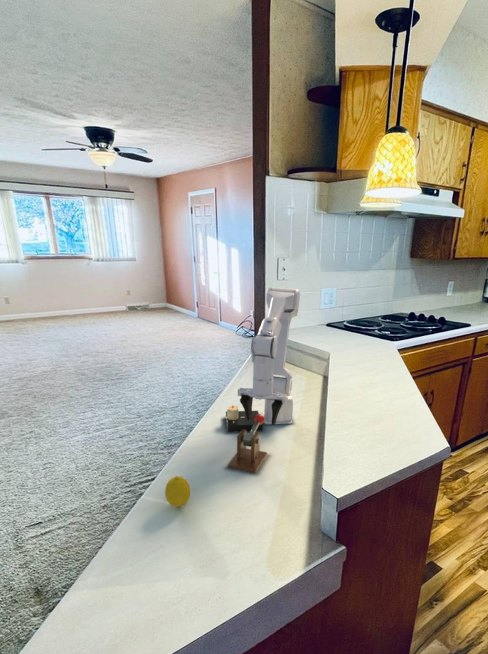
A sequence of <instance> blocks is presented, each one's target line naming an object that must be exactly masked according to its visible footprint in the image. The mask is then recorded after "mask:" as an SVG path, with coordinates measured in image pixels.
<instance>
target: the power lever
mask: <svg viewBox="0 0 488 654" xmlns="http://www.w3.org/2000/svg"><path fill="white" fill-rule="evenodd" d="M254 421H255V424H254V425H253V427H252V429H251V431H249V432H246V434H245V436H244V438H243V445H244V446H246V447H249V448H251V438H252V437H253V436H254V434H255V433H256V432H257V431H256V430H257V428H258V426H259V425H260V424H262V425H263V424H264V416H263V415H262V413H259V414H258V415H256V416H255V418H254Z"/></svg>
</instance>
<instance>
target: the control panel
mask: <svg viewBox="0 0 488 654" xmlns="http://www.w3.org/2000/svg"><path fill="white" fill-rule="evenodd" d="M258 414H260V413H259V410H252V418H251V419H250V420H249V421H248V420H247V417H246V413H245V410H238V419H237V420H229V419H228V418H227V411H225V417H220V419H221V420H222V419H224V420H225V422H226V429H227V433H240V432H241V431H242V430H243V429H246V432H250V431H251V429H252V427H253V425H254V424H255V421H254V418H255V416H256V415H258ZM262 431H263V424H260V425H259V426H258V428H257V430H256V432H262Z"/></svg>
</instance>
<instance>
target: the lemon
mask: <svg viewBox="0 0 488 654" xmlns="http://www.w3.org/2000/svg"><path fill="white" fill-rule="evenodd" d="M164 495H165V500H166V502H167V503H168V504H169V505H170V506H172V507H176V508H180V507H182V506H184V505H186V504H187V503H188V501H189V499H190V497H191V487H190V484H189V481H188V480H187V479H186V478H184V477H183V476H178V475H176V476H174V477H172V478H170V479H169V480H168V481H167V482H166V484H165V488H164Z"/></svg>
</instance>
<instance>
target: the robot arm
mask: <svg viewBox="0 0 488 654" xmlns="http://www.w3.org/2000/svg"><path fill="white" fill-rule="evenodd" d="M300 294H301V293H300V290H299V288H288V287H276V286H275V287H274V286H269V287H268V289H267V290H266V297H265V298H266V299H265V300H266V301H265V302H266V305H267V308H268V314H267V317H264V318H263V319H262V321H261V324H260V326H259V328H258V332H257V334H256V335H255V336H253V337H252V339H251V342H250V355H251V362H252V387H251V388H250V387H249V388H248V387H239V388H238V389H237V396H238V397H240V399H239V402H240V404H241V405H242V407H243V411H245V413H246V417H247V420H248V421H249V420H250V419H251V418H252V411H253V401H254V399H255V400H264V412H263V413H261V415H263V416H264V422H263V424H264V425H273V426H275V425H288V424H290V425H291V424H293V410H294V400H293V396H292V395H291V393H292V387H293V375H292V373H291V372H290V370H289V369H287V368H286V360H287V351H288V343H289V337H290V336H289V335H290V327H291V323H292V320H293V318H295V317H297V316H298V313H299V308H300V296H301V295H300Z"/></svg>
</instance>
